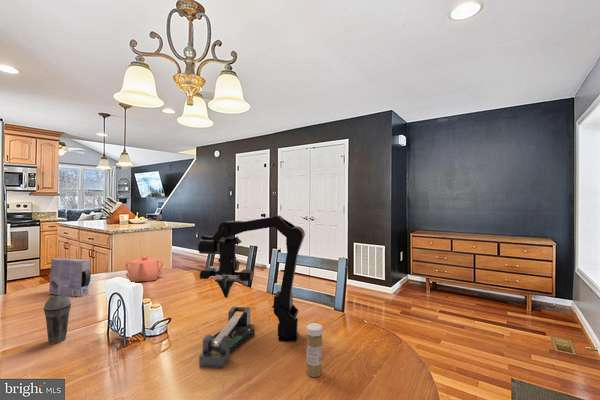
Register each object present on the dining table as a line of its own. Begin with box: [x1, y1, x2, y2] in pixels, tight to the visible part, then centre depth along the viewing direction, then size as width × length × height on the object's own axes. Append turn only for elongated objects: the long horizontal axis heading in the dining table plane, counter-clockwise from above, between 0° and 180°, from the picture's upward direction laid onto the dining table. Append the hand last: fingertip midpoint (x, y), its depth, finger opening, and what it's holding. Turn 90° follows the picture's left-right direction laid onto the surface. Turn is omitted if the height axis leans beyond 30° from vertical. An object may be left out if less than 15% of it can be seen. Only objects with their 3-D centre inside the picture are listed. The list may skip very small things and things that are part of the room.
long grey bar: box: [211, 311, 243, 348], centre depth 99 cm, size 3×25×2 cm, turn 175°
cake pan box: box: [48, 257, 92, 298], centre depth 143 cm, size 19×5×18 cm, turn 82°
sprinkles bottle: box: [305, 322, 324, 378], centre depth 82 cm, size 5×5×14 cm
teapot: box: [124, 255, 164, 283], centre depth 168 cm, size 20×19×14 cm
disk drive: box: [212, 325, 255, 355], centre depth 99 cm, size 10×3×15 cm
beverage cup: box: [43, 281, 72, 344], centre depth 98 cm, size 7×7×20 cm
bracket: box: [198, 306, 252, 369], centre depth 98 cm, size 7×30×7 cm, turn 175°
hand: (226, 297), depth 106 cm, fingers closed
